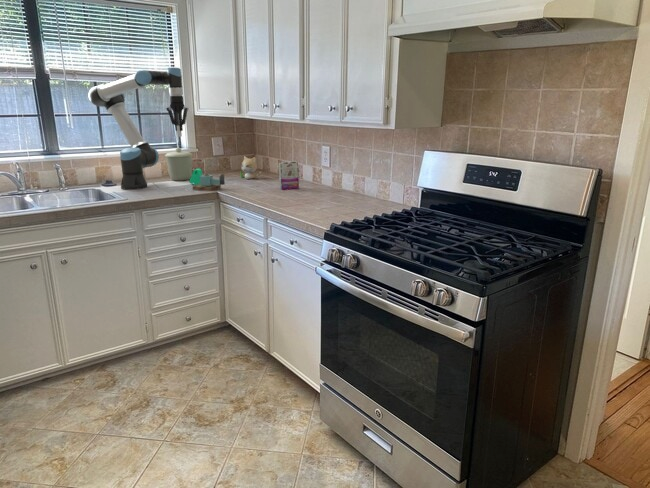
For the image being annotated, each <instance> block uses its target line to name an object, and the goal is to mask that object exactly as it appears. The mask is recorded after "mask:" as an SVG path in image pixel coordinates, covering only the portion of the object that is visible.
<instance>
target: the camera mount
mask: <svg viewBox="0 0 650 488" xmlns="http://www.w3.org/2000/svg"><path fill="white" fill-rule="evenodd" d="M202 175H203V171H202V169H201V168H194V169H193V170H192V173H191V178H190V179H189V183H190V184H193V185H194V186H195V185H197V184H200V176H202Z"/></svg>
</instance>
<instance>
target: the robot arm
mask: <svg viewBox="0 0 650 488" xmlns="http://www.w3.org/2000/svg"><path fill="white" fill-rule="evenodd" d="M182 77H183V75H182V70H181V68H180V67H168V68H167V70H166V71H163V70H162V71H161V70H160V71H159V70H145V69H141V70H140V69H139V70H137V71H136V72H135V73H134V74H131V75H128V76H126V77H123V78H121V79H119V80H116V81H112V82H109V83H107V84H98V85H96V86H93V87H91V88H90V89H89V91H88V99H89V101H90V103H92V104H93V105H94V106H96V107H98V108H99V107H102V108H103V107H104V108H105V110H106V112H107V113H110V114H111V115H112V117H113V119H114V120H115V121H116V123H117V126H119V128H120V131H122V133H123V135H124V137H125V138H126V140H127V142H128V144H129V145H130V147H126V148H124V149H122V150H120V157H119V158H120V164H121V172H122V177H121V181H120V182H121V183H120V188H121V190H128V191H131V190H143V189H147V188H148V182H147V180H146V178H145V175H144V169H146V168H151V167H153V166H155V165H157V164H158V162H159V159H160V154H159V152H158V151H157V148H155V147H152V146H150V144H149V142H147V141H145V140H144V138H143V137H142V135H141V133H140V131H139V130H138V128H137V126H136V124H135V123H134V121H133V119H132V118H131V115H130V114H129V113H128V111H127V109H126V108H125V107H126V103H125V101H126V100H125V94H126V93H129V92H131V91H134V90H137V89H139V88H142V87H143V88H144V87H145V86H148V85H150V86H151V85H153V86H163V85H164V86H168V91H169V92H168V93H169V100H170V101H169V102H170V103H169V106H168V107H166V108H165V109H166V110H167V112H168V115H169V119H170V121H171V125H174V127H175V131H176V132H177V137H178V138H179V137H180V138H181V137H183V136H182V132H183V128H184V127H183V126H184V125H186V121H187V115H188V111H189V107H187V106H186V105H185V103H184V96H183V95H184V91H183V78H182Z"/></svg>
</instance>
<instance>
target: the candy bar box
mask: <svg viewBox="0 0 650 488" xmlns="http://www.w3.org/2000/svg"><path fill="white" fill-rule="evenodd" d="M299 177H300V176H299V162H298V161H297V160H291V161H290V160H289V161H278V178H279V183H278V185H279V190H281V191H284V190H285V191H286V190H287V189H288V190H298V189H300V187H299V183H300V182H299Z"/></svg>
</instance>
